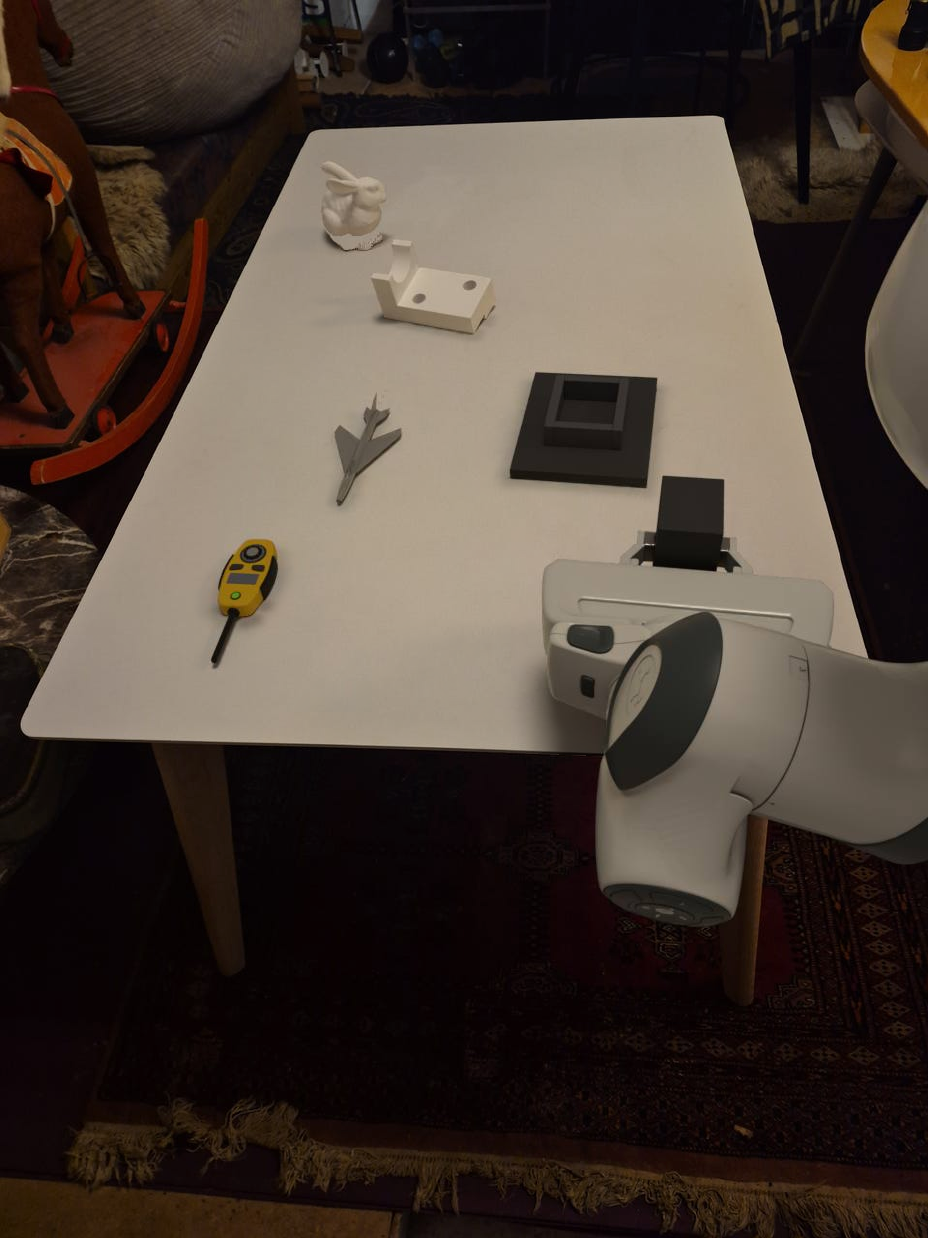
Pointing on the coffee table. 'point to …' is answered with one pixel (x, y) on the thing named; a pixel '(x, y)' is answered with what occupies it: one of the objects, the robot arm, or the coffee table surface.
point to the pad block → (690, 523)
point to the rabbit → (351, 203)
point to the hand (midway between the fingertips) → (685, 539)
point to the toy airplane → (361, 446)
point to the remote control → (245, 583)
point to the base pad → (586, 429)
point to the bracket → (432, 293)
